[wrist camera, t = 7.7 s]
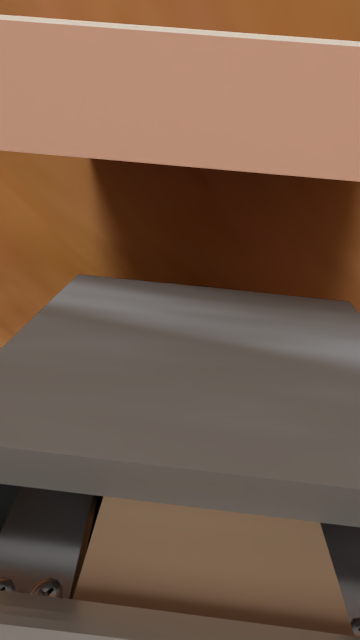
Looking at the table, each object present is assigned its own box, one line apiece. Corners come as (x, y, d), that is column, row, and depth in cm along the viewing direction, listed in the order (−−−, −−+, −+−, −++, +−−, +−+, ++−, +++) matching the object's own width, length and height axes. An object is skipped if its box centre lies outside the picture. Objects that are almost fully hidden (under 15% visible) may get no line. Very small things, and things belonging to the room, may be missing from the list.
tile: (354, 170, 11) (587, 201, 4) (87, 147, 12) (-86, 142, 5) (370, 117, 11) (685, 54, 4) (84, 94, 11) (-130, -6, 4)
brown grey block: (288, 390, 13) (446, 853, 5) (104, 370, 14) (-83, 774, 5) (325, 277, 11) (837, 822, 2) (98, 254, 11) (-321, 658, 2)
